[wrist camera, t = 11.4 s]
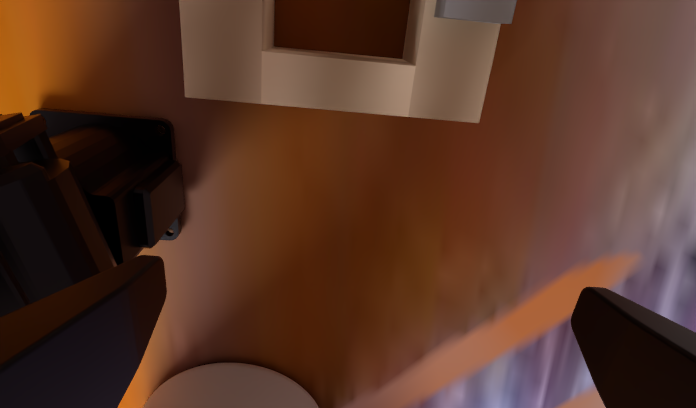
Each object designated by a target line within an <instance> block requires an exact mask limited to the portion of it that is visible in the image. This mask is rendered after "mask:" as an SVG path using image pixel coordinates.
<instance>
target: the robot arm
mask: <svg viewBox="0 0 696 408" xmlns="http://www.w3.org/2000/svg"><path fill="white" fill-rule="evenodd" d="M42 116H43V117H44V118H45V120H46V124H45V122H44V120H43V117H42ZM158 125H160V126H163V127H164V128H165V131H166V132H165V134H163V133H160V132H159V130H158ZM183 210H184V193H183V179H182V165H181V164H180V163H179V162H178V161H177V160H176V154H175V141H174V129H173V125H172V124H171V123H170V122H169V121H168V120H166V119H163V118H151V117H140V116H128V115H116V114H104V113H92V112H80V111H69V110H57V109H45V108H43V109H37V110H34V111H32V112H31V113H30V115H29V116H25V117H24V116H23V114H22V113H14V114H7V115H2V114H0V408H117V407H118V405H119V403H120V401H121V400H122V398H123V396H124V394H125V392H126V390H127V388H128V386H129V385H130V383H131V381H132V379H133V377H134V375H135V373H136V371H137V369H138V367H139V365H140V363H141V360H142V358H143V356H144V353H145V350H146V348H147V345H148V343H149V340H150V338H151V335H152V333H153V330H154V328H155V325H156V323H157V320H158V317H159V315H160V312H161V310H162V307H163V305H164V302H165V299H166V293H167V289H166V279H165V270H164V262H163V260H162V258H161V257H159V256H148V255H140V256H138V257H136V256H137V255H138V254H139V253H140V252H141V250H142V249H143V248H152V247H153V246H154V245H156V244H157V242H158V241H159V240H174V239H176V238H177V237H178V235H179V234H180V233H181V220H180V214H181V212H182V211H183ZM169 228H171V229H172V230H173V231H174V233H171V232H169V231H168V229H169ZM571 326H572V330H573V332H574V335H575V337H576V340H577V342H578V345H579V347H580V349H581V352H582V354H583V357H584V359H585V362H586V364H587V367H588V369H589V372H590V374H591V377H592V379H593V381H594V384H595V386H596V388H597V391H598V393H599V395H600V397H601V399H602V401H603V403H604V405H605V407H606V408H696V333H695V332H693V331H691V330H689V329H687V328H685V327H683V326H681V325H679V324H677V323H675V322H673V321H671V320H669V319H667V318H665V317H663V316H661V315H659V314H657V313H655V312H653V311H651V310H649V309H647V308H645V307H643V306H641V305H639V304H637V303H635V302H633V301H631V300H629V299H627V298H625V297H623V296H621V295H619V294H617V293H615V292H613V291H610V290H608V289H606V288H600V287H586V288H584V289H583V290H582V291H581V294H580V296H579V299H578V301H577V304H576V306H575V309H574V311H573V314H572V317H571Z"/></svg>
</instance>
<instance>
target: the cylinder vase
mask: <svg viewBox="0 0 696 408" xmlns="http://www.w3.org/2000/svg"><path fill="white" fill-rule="evenodd" d="M143 408H319V407H318V405H317V403H316V402H315V401H314V399H313V398H312V397H311V396H310V394H309V393H308V392H307V391H306V390H305V389H303V388H302V387H301V386H300V385H299V384H297V383H296V382H294V381H293V380H291V379H290V378H288V377H286V376H284V375H282V374H280V373H278V372H276V371H273V370H270V369H267V368H264V367H260V366H256V365H251V364H244V363H214V364H207V365H202V366H198V367H195V368H191V369H189V370H186V371H183V372H181V373H179V374H177V375H175V376H173V377H172V378H170V379H169V380H167V381H166V382H164V383H163V384H162V385H161V386H159V387H158V388H157V389H156V390H155V391H154V392H153V394H152V395H151V396H150V397H149V399H148V400H147V402H146V403H145V405H144V407H143Z"/></svg>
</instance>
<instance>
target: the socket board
mask: <svg viewBox="0 0 696 408" xmlns="http://www.w3.org/2000/svg"><path fill="white" fill-rule="evenodd" d="M516 1H517V0H410V7H409V14H408V21H407V28H406V36H405V43H404V50H403V57H402V59H398V58H387V57H377V56H367V55H357V54H346V53H336V52H326V51H316V50H305V49H295V48H285V47H275V46H274V14H275V0H179V7H180V23H181V39H182V55H183V72H184V88H185V97H188V98H200V99H211V100H222V101H234V102H245V103H256V104H268V105H279V106H290V107H302V108H313V109H324V110H336V111H347V112H358V113H370V114H381V115H392V116H404V117H415V118H426V119H438V120H449V121H460V122H472V123H479V121H480V116H481V112H482V107H483V103H484V98H485V94H486V89H487V85H488V80H489V76H490V71H491V67H492V62H493V58H494V53H495V49H496V44H497V40H498V35H499V31H500V26H501V24H511V23H512V19H513V14H514V10H515V6H516Z"/></svg>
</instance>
